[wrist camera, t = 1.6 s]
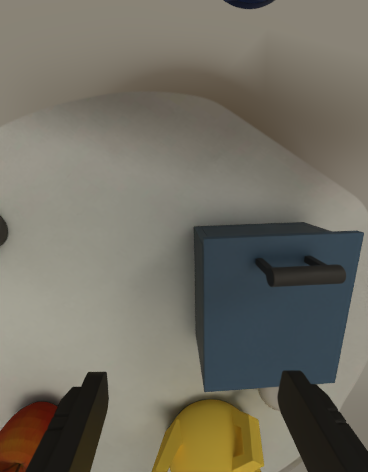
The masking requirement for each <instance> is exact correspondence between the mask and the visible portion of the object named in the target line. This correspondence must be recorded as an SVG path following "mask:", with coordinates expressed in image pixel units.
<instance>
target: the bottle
mask: <svg viewBox="0 0 368 472" xmlns="http://www.w3.org/2000/svg"><path fill="white" fill-rule="evenodd" d="M7 234H8V230H7V226H6V223H5V222H4V220H3V219H2V217H1V216H0V246H1V245H2V244H3V243H4V242H5V240H6V239H7Z"/></svg>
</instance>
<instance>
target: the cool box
mask: <svg viewBox="0 0 368 472" xmlns="http://www.w3.org/2000/svg"><path fill="white" fill-rule="evenodd" d="M313 232H332V231H329V230H326V229H323V228H320V227H316V226H313V225H310V224H307V223H304V222H297V223H271V224H245V225H220V226H194V261H195V321H196V339H197V346H198V352H199V359H200V365H201V372H202V379H203V237H216V236H240V235H264V234H289V233H313Z"/></svg>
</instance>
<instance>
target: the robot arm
mask: <svg viewBox="0 0 368 472" xmlns="http://www.w3.org/2000/svg"><path fill="white" fill-rule="evenodd" d="M277 399H278V405H279V409H280V412H281V414H282V416H283V418H284V421H285V423H286V425H287V427H288V429H289V432H290V434H291V436H292V438H293V440H294V442H295V445H296V447H297V449H298V451H299V453H300V456H301V458H302V460H303V462H304V464H305V467H306V469H307V471H308V472H368V451H367V450H366V448H365V447H364V445H363V444H362V443H361V441H360V440H359V438H358V437H357V435H356V434H355V433H354V431H353V430H352V429H351V427H350V426H349V424H347V423H346V420H345V419H344V417H343V416H342V414H341V413H340V412H338V409H337V407H336V406H335V405H334V403H333V402H332V400H331V399H330V397H329V396H328V395H327V394H326V393H325V392H324V391H323V390H321V389H320V388H319V387H318V386H317V385H316V384H310V382H309V381H308V379H307V378H306V376H305V375H304V373H303V372H302V371H300V370H286V371H283V372H282V375H281V380H280V385H279V390H278V395H277ZM108 400H109V396H108V382H107V373H106V372H88V373H87V375H86V377H85V379H84V382H83V384H82V386H81V387H72V388H71V389H70V391H69V392H68V393H67V394H66V395H65V396H64V397H63V398H62V399H61V401H60V403H59V405H58V407H57V409H56V411H55V413H54V417H52V419H51V421H50V423H49V425H48V428H47V430H46V431H45V433H44V435H43V437H42V439H41V441H40V443H39V445H38V447H37V449H36V451H35V453H34V455H33V457H32V459H31V461H30V463H29V465H28V467H27V469H26V471H25V472H90V470H91V467H92V463H93V460H94V456H95V453H96V449H97V446H98V442H99V439H100V435H101V431H102V428H103V424H104V421H105V417H106V414H107V409H108Z"/></svg>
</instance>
